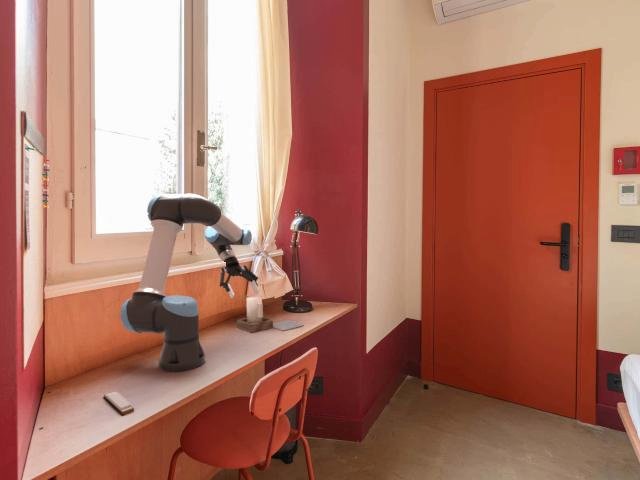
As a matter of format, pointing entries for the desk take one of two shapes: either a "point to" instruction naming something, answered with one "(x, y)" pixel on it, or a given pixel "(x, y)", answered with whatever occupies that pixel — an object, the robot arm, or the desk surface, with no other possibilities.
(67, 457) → the desk surface
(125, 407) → the harmonica
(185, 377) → the desk surface
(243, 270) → the robot arm
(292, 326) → the mat
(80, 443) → the desk surface
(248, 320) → the white rounded piece
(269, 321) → the holder
